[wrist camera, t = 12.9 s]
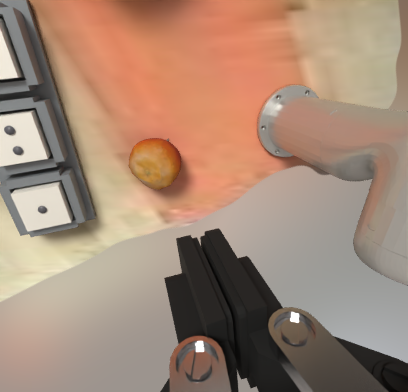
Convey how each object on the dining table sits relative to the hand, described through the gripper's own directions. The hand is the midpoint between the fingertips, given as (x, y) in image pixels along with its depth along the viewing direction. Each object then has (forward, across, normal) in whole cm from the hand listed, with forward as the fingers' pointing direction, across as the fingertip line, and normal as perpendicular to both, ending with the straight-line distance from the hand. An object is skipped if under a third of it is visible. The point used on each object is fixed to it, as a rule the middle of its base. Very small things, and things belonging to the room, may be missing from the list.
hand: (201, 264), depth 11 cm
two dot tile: (+35, +16, 0) cm, 39 cm away
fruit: (+37, -1, +7) cm, 38 cm away
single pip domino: (+35, +16, +10) cm, 40 cm away
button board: (+37, +16, 0) cm, 40 cm away
